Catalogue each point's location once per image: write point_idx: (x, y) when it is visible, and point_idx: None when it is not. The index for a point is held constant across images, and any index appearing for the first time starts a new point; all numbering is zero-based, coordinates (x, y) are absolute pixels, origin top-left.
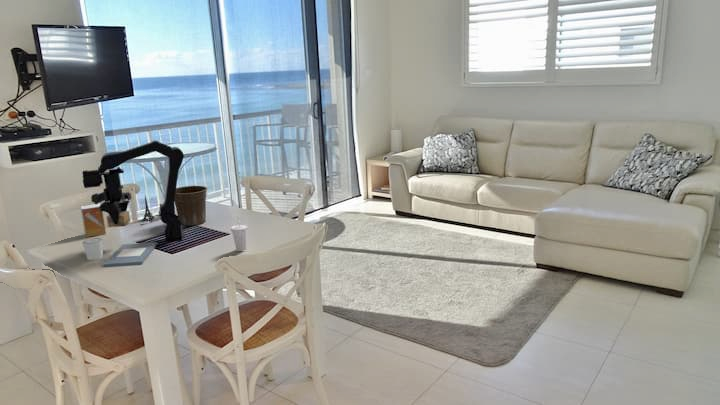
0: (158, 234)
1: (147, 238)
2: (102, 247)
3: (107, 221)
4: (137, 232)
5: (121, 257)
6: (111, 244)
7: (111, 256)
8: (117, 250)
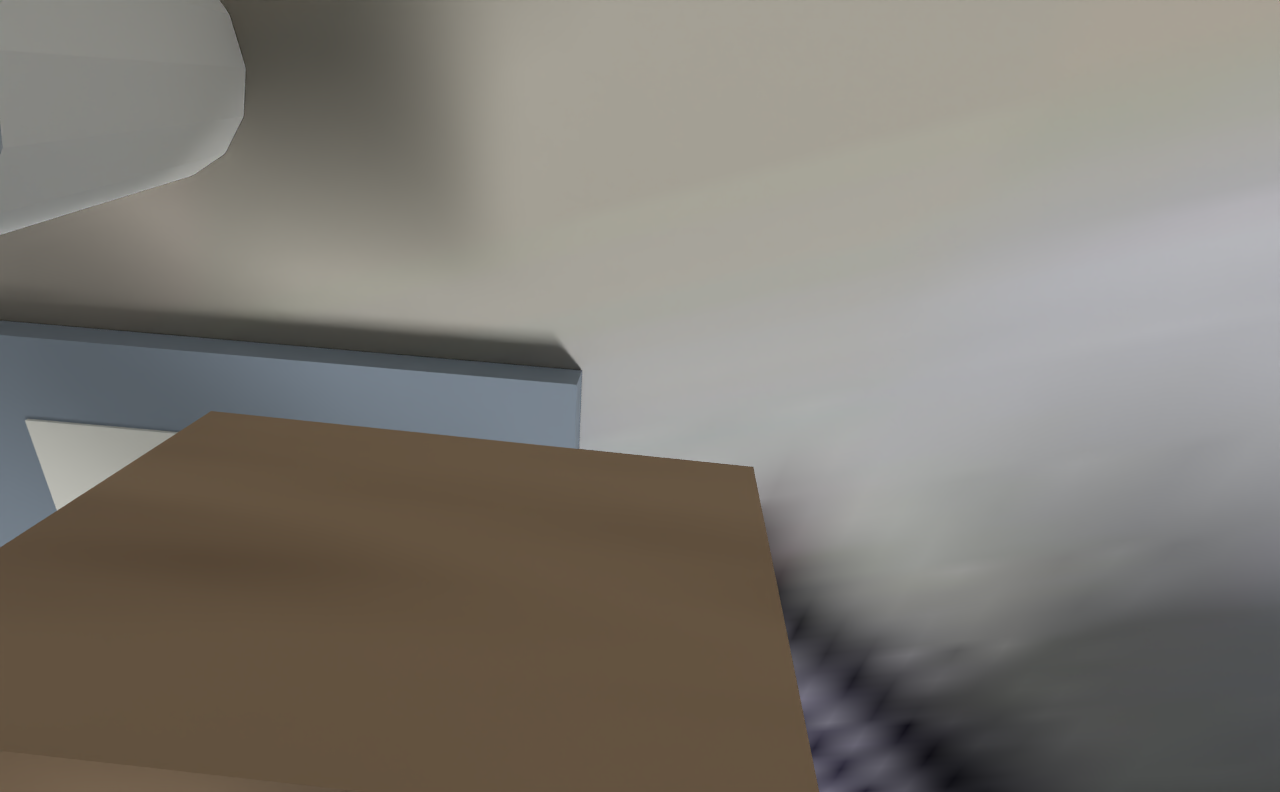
0: (963, 701)
1: (845, 611)
2: (76, 210)
3: (30, 530)
4: (1246, 448)
5: (33, 483)
6: (745, 161)
7: (52, 351)
8: (298, 375)
